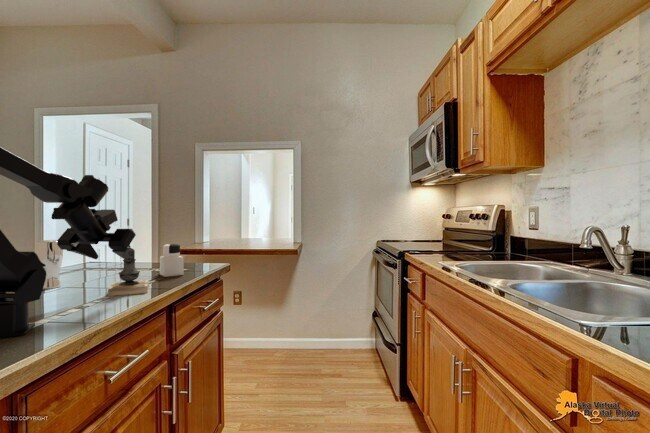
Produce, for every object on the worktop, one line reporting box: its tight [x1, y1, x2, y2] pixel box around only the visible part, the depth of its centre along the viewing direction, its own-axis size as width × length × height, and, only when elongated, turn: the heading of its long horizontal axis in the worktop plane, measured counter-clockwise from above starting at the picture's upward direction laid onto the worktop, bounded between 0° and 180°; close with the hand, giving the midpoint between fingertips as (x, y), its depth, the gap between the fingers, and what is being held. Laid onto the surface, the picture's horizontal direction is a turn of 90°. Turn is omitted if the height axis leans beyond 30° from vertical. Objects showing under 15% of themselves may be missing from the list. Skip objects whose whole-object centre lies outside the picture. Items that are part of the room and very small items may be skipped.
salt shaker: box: [117, 244, 141, 286], centre depth 103 cm, size 6×6×12 cm
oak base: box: [107, 279, 150, 297], centre depth 103 cm, size 10×10×2 cm
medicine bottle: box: [159, 243, 185, 278], centre depth 131 cm, size 7×7×12 cm
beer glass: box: [34, 239, 64, 290], centre depth 107 cm, size 7×7×15 cm
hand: (112, 258), depth 96 cm, fingers open, 9 cm apart
